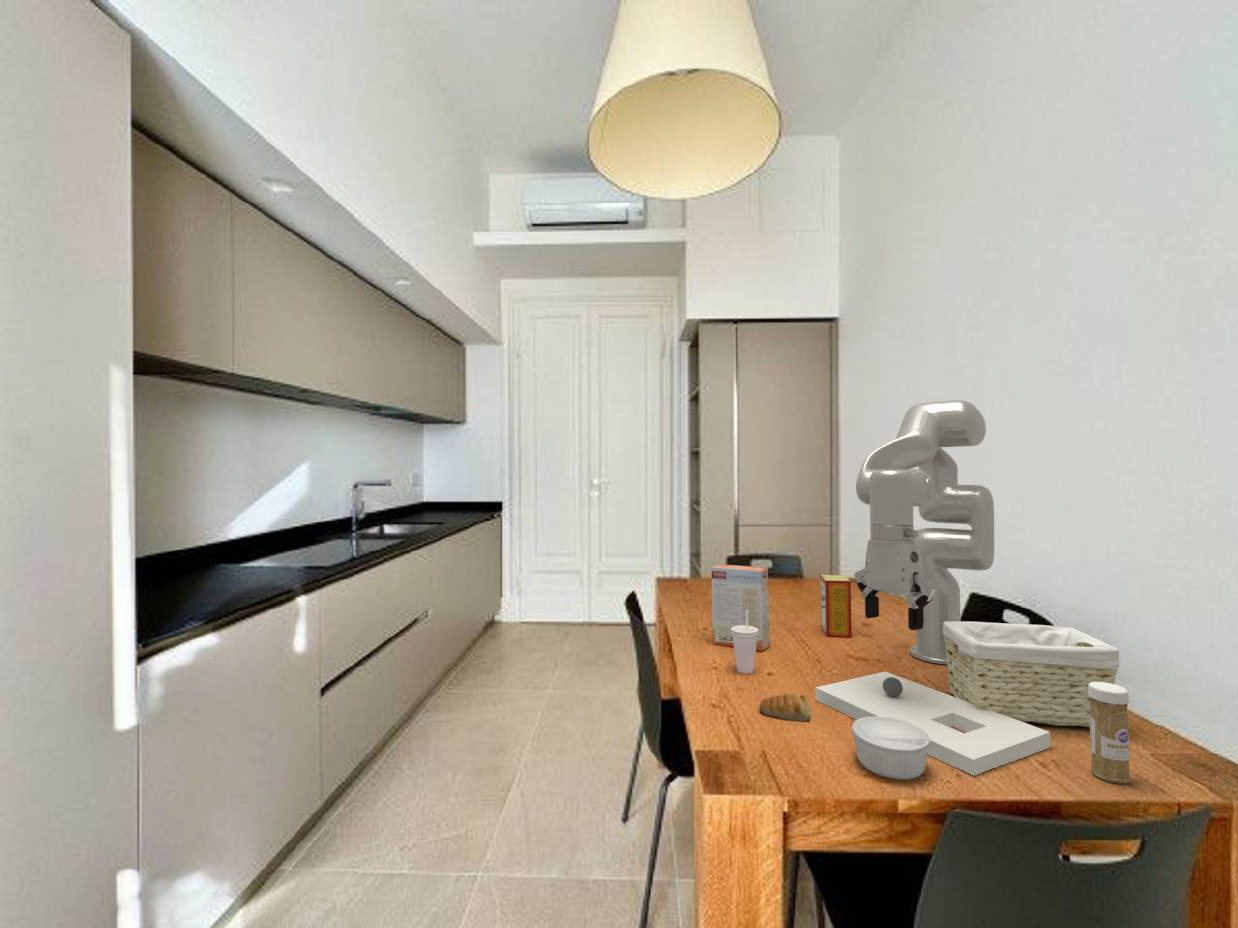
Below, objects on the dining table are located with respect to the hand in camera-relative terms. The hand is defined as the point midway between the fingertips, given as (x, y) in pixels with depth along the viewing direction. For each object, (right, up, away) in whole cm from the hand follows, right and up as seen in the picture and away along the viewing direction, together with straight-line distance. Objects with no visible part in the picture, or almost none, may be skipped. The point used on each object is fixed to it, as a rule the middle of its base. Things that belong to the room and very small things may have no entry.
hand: (893, 622), depth 108 cm
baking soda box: (+9, -18, +52) cm, 56 cm away
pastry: (-20, -18, -1) cm, 27 cm away
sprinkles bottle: (+21, -16, -24) cm, 36 cm away
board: (+3, -17, -5) cm, 18 cm away
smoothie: (-23, -18, +22) cm, 37 cm away
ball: (0, -13, 0) cm, 13 cm away
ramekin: (-10, -17, -20) cm, 28 cm away
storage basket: (+24, -16, -2) cm, 29 cm away
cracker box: (-20, -18, +42) cm, 50 cm away
